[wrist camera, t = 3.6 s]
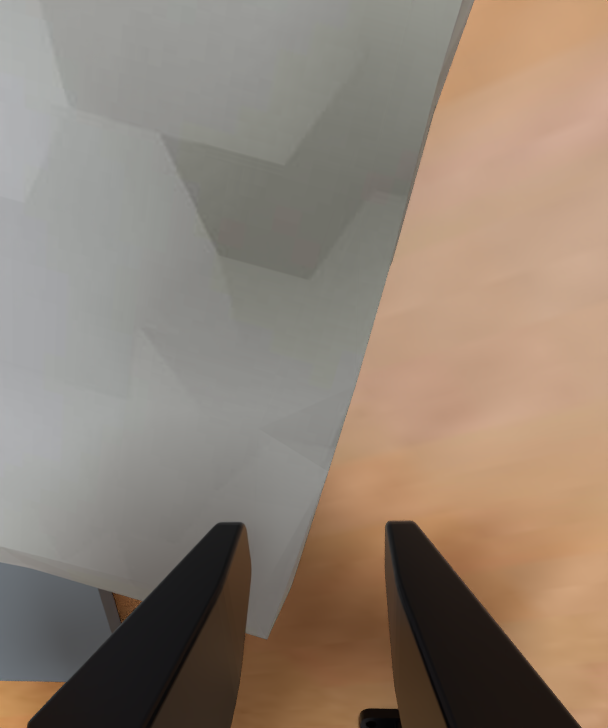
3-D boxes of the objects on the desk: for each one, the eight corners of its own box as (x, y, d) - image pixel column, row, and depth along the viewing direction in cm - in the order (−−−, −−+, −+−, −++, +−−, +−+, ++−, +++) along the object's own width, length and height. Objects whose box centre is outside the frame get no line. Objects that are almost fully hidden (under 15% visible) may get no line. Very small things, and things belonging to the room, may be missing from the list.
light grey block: (473, -43, 12) (58, -152, 12) (536, -157, 7) (-129, -326, 7) (295, 536, 19) (41, 466, 19) (272, 654, 15) (-57, 562, 15)
